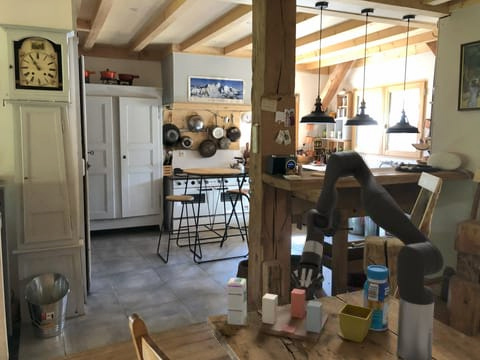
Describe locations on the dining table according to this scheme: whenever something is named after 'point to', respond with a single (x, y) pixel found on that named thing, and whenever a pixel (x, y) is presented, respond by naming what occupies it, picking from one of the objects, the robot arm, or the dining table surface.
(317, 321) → the grey rectangular block
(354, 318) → the flower pot
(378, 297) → the beverage bottle
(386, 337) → the dining table surface
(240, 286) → the syrup box
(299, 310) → the red rectangular block
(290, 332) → the brown wooden board
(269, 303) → the cream rectangular block
